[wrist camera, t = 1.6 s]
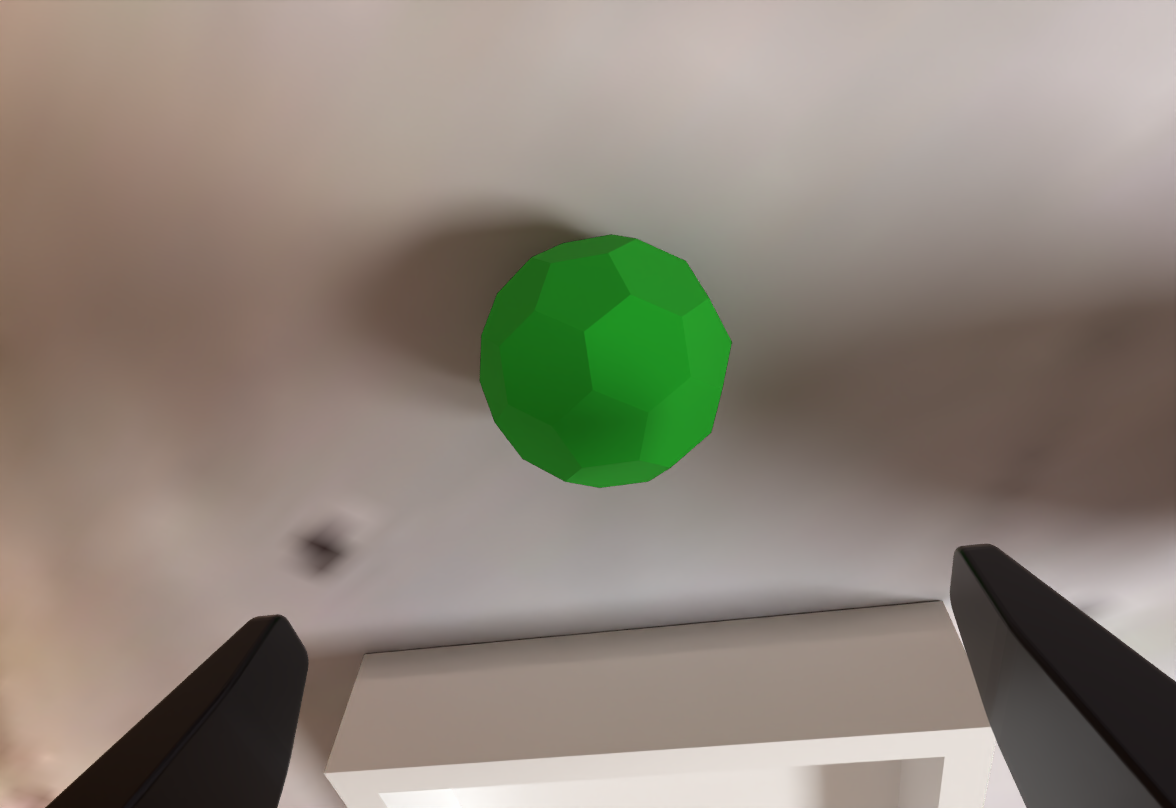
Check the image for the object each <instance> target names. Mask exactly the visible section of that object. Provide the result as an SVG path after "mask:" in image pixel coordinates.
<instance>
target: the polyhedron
mask: <svg viewBox="0 0 1176 808" xmlns="http://www.w3.org/2000/svg"><path fill="white" fill-rule="evenodd" d="M731 344H732V341H731V339H730V338H729V336H728V334H727V332H726V330H725V328H724V326H723V324H722V322H721V320H720V318H719V316H718V314H717V312H716V311H715V309H714V307H713V305H712V303H711V301H710V299H709V297H708V296H707V294H706V292H705V291H704V289H703V288H702V286H701V284H700V283H699V281H698V280H697V278H696V276H695V275H694V273H693V272H692V270H691V268H690V267H689V265H688V264H687V262H686V261H685V260H682V259H680V258H678V257H676V256H674V255H671V254H669V253H667V252H665V251H663V250H660V249H658V248H656V247H654V246H652V245H649V244H647V243H645V242H643V241H641V240H638V239H635V238H629V237H623V236H618V235H612V234H611V235H606V236H600V237H595V238H589V239H583V240H578V241H572V242H567V243H562V244H560V245H558V246H556V247H553V248H551V249H549V250H547V251H544V252H542V253H540V254H538V255H536V256H533V257H531V258H530V259H529V260H528V261H527V262H526V263H525V265H524V266H523V267H522V268H521V269H520V270H519V271H518V272H517V273H516V274H515V275H514V276H513V277H512V278H511V279H510V281H509V282H508V283H507V284H506V285H505V286H504V287H503V288H502V289H501V290H500V291H499V292H498V293H497V295H496V298H495V301H494V303H493V306H492V309H491V311H490V314H489V316H488V319H487V322H486V324H485V327H484V330H483V332H482V335H481V359H480V383H481V386H482V389H483V392H484V394H485V397H486V400H487V403H488V405H489V408H490V411H491V413H492V416H493V419H494V422H495V423H496V425H497V426H498V427H499V429H500V430H501V431H502V433H503V434H504V435H505V437H506V438H507V439H508V440H509V442H510V443H511V444H512V446H513V447H514V448H515V450H516V451H517V452H518V454H519V455H520V456H521V457H522V459H524V460H526V461H528V462H529V463H531V464H533V465H535V466H537V467H539V468H541V469H543V470H544V471H546V472H548V473H550V474H552V475H554V476H556V477H558V478H559V479H561V480H563V481H565V482H570V483H576V484H581V485H587V486H593V487H598V488H602V487H610V486H618V485H625V484H633V483H641V482H648V481H650V480H652V479H653V478H655V477H656V476H658V475H660V474H661V473H663V472H664V471H666V470H668V469H669V468H671V467H672V466H673V465H674V464H675V463H677V462H678V461H679V460H680V459H681V458H682V457H684V456H685V455H686V454H687V453H688V452H689V451H691V450H692V449H693V448H694V447H695V446H696V445H697V444H699V443H700V442H701V441H702V440H703V439H704V438H706V437H707V436H708V435H709V434H710V433H711V431H712V428H713V424H714V420H715V416H716V412H717V408H718V404H719V400H720V396H721V392H722V388H723V383H724V378H725V373H726V368H727V363H728V359H729V354H730V349H731Z"/></svg>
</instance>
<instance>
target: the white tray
mask: <svg viewBox="0 0 1176 808" xmlns="http://www.w3.org/2000/svg"><path fill="white" fill-rule="evenodd" d="M995 744H996V738H995V736H994V734H993V731H992V729H991V726H990V724H989V721H988V718H987V715H986V712H985V709H984V706H983V703H982V700H981V697H980V694H979V691H978V688H977V684H976V681H975V678H974V675H973V672H972V669H971V666H970V663H969V660H968V656H967V654H966V652H965V650H964V648H963V645H962V643H961V641H960V639H959V636H958V634H957V632H956V630H955V627H954V625H953V623H952V621H951V619H950V616H949V614H948V612H947V610H946V607H945V605H944V603H943V601H936V602H925V603H914V604H904V605H893V606H882V607H871V608H860V609H850V610H839V611H828V612H817V613H806V614H796V615H785V616H774V617H763V618H752V619H742V620H731V621H720V622H709V623H698V624H687V625H677V626H666V627H655V628H644V629H633V630H623V631H612V632H601V633H590V634H579V635H569V636H558V637H547V638H536V639H525V640H515V641H504V642H493V643H482V644H471V645H461V646H450V647H439V648H428V649H417V650H407V651H396V652H385V653H374V654H364V657H363V660H362V663H361V666H360V669H359V672H358V674H357V677H356V680H355V683H354V686H353V689H352V692H351V695H350V698H349V701H348V704H347V707H346V710H345V713H344V715H343V718H342V721H341V724H340V727H339V730H338V733H337V736H336V739H335V742H334V745H333V748H332V751H331V753H330V756H329V759H328V762H327V765H326V768H325V771H324V775H325V776H326V777H327V779H328V780H329V782H330V783H331V785H332V786H333V787H334V789H335V790H336V792H337V793H338V795H339V796H340V797H341V799H342V800H343V802H344V803H345V805H346V806H347V807H348V808H983V807H984V802H985V796H986V791H987V786H988V781H989V775H990V770H991V765H992V760H993V755H994V749H995Z"/></svg>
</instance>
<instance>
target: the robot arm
mask: <svg viewBox="0 0 1176 808" xmlns="http://www.w3.org/2000/svg"><path fill="white" fill-rule="evenodd" d="M950 600H951V605H952V610H953V613H954V616H955V619H956V622H957V625H958V628H959V632H960V635H961V638H962V641H963V644H964V647H965V650H966V653H967V656H968V660H969V663H970V666H971V669H972V672H973V675H974V678H975V681H976V684H977V688H978V691H979V694H980V697H981V700H982V703H983V706H984V709H985V712H986V715H987V718H988V721H989V724H990V726H991V729H992V731H993V734H994V736H995V738H996V741H997V743H998V746H999V748H1000V750H1001V752H1002V754H1003V757H1004V759H1005V761H1006V763H1007V765H1008V768H1009V770H1010V772H1011V774H1012V777H1013V779H1014V781H1015V783H1016V785H1017V788H1018V790H1019V792H1020V794H1021V796H1022V799H1023V801H1024V803H1025V805H1026V807H1027V808H1176V682H1175V681H1174V680H1173V679H1171V678H1170V677H1169V676H1167V675H1166V674H1165V673H1163V672H1162V671H1161V670H1159V669H1158V668H1157V667H1155V666H1154V665H1153V664H1151V663H1150V662H1149V661H1147V660H1146V659H1145V658H1143V657H1142V656H1141V655H1139V654H1138V653H1137V652H1135V651H1134V650H1133V649H1131V648H1130V647H1129V646H1128V645H1126V644H1125V643H1124V642H1122V641H1121V640H1120V639H1118V638H1117V637H1116V636H1114V635H1113V634H1112V633H1110V632H1109V631H1108V630H1106V629H1105V628H1104V627H1102V626H1101V625H1100V624H1098V623H1097V622H1096V621H1094V620H1093V619H1092V618H1090V617H1089V616H1088V615H1086V614H1085V613H1084V612H1082V611H1081V610H1080V609H1078V608H1077V607H1076V606H1074V605H1073V604H1072V603H1070V602H1069V601H1068V600H1066V599H1065V598H1064V597H1062V596H1061V595H1060V594H1058V593H1057V592H1056V591H1055V590H1053V589H1052V588H1051V587H1049V586H1048V585H1047V584H1045V583H1044V582H1043V581H1041V580H1040V579H1039V578H1037V577H1036V576H1035V575H1033V574H1032V573H1031V572H1029V571H1028V570H1027V569H1025V568H1024V567H1023V566H1021V565H1020V564H1019V563H1017V562H1016V561H1015V560H1013V559H1012V558H1011V557H1009V556H1008V555H1007V554H1005V553H1004V552H1003V551H1001V550H1000V549H999V548H997V547H996V546H994V545H991V544H977V545H967V546H960V547H958V548H957V549H956V551H955V553H954V557H953V567H952V576H951V585H950ZM307 671H308V654H307V651H306V649H305V647H304V645H303V644H302V642H301V640H300V639H299V637H298V636H297V634H296V632H295V631H294V629H293V627H292V626H291V624H290V623H289V621H288V620H287V618H286V617H284V616H282V615H278V614H277V615H267V616H258V617H255V618H253V619H251V620H250V621H248V622H247V623H246V624H245V625H244V626H243V627H242V628H241V629H239V630H238V631H237V632H236V633H235V634H234V635H233V636H232V637H231V638H230V639H229V640H227V641H226V642H225V643H224V644H223V645H222V646H221V647H220V648H219V649H218V650H217V651H215V652H214V653H213V654H212V655H211V656H210V657H209V658H208V659H207V660H206V661H205V662H203V663H202V664H201V665H200V666H199V667H198V668H197V669H196V670H195V671H194V672H193V673H191V674H190V675H189V676H188V677H187V678H186V679H185V680H184V681H183V682H182V683H181V684H180V685H178V686H177V687H176V688H175V689H174V690H173V691H172V692H171V693H170V694H169V695H168V696H166V697H165V698H164V699H163V700H162V701H161V702H160V703H159V704H158V705H157V706H156V707H154V708H153V709H152V710H151V711H150V712H149V713H148V714H147V715H146V716H145V717H144V718H142V719H141V720H140V721H139V722H138V723H137V724H136V725H135V726H134V727H133V728H132V729H130V730H129V731H128V732H127V733H126V734H125V735H124V736H123V737H122V738H121V739H120V740H118V741H117V742H116V743H115V744H114V745H113V746H112V747H111V748H110V749H109V750H108V751H107V752H105V753H104V754H103V755H102V756H101V757H100V758H99V759H98V760H97V761H96V762H95V763H93V764H92V765H91V766H90V767H89V768H88V769H87V770H86V771H85V772H84V773H83V774H81V775H80V776H79V777H78V778H77V779H76V780H75V781H74V782H73V783H72V784H71V785H69V786H68V787H67V788H66V789H65V790H64V791H63V792H62V793H61V794H60V795H59V796H57V797H56V798H55V799H54V800H53V801H52V802H51V803H50V804H49V805H48V806H47V807H45V808H277V807H278V803H279V800H280V797H281V793H282V790H283V786H284V783H285V779H286V775H287V771H288V767H289V763H290V758H291V754H292V748H293V743H294V738H295V733H296V728H297V723H298V717H299V712H300V707H301V702H302V697H303V692H304V687H305V681H306V676H307Z"/></svg>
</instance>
